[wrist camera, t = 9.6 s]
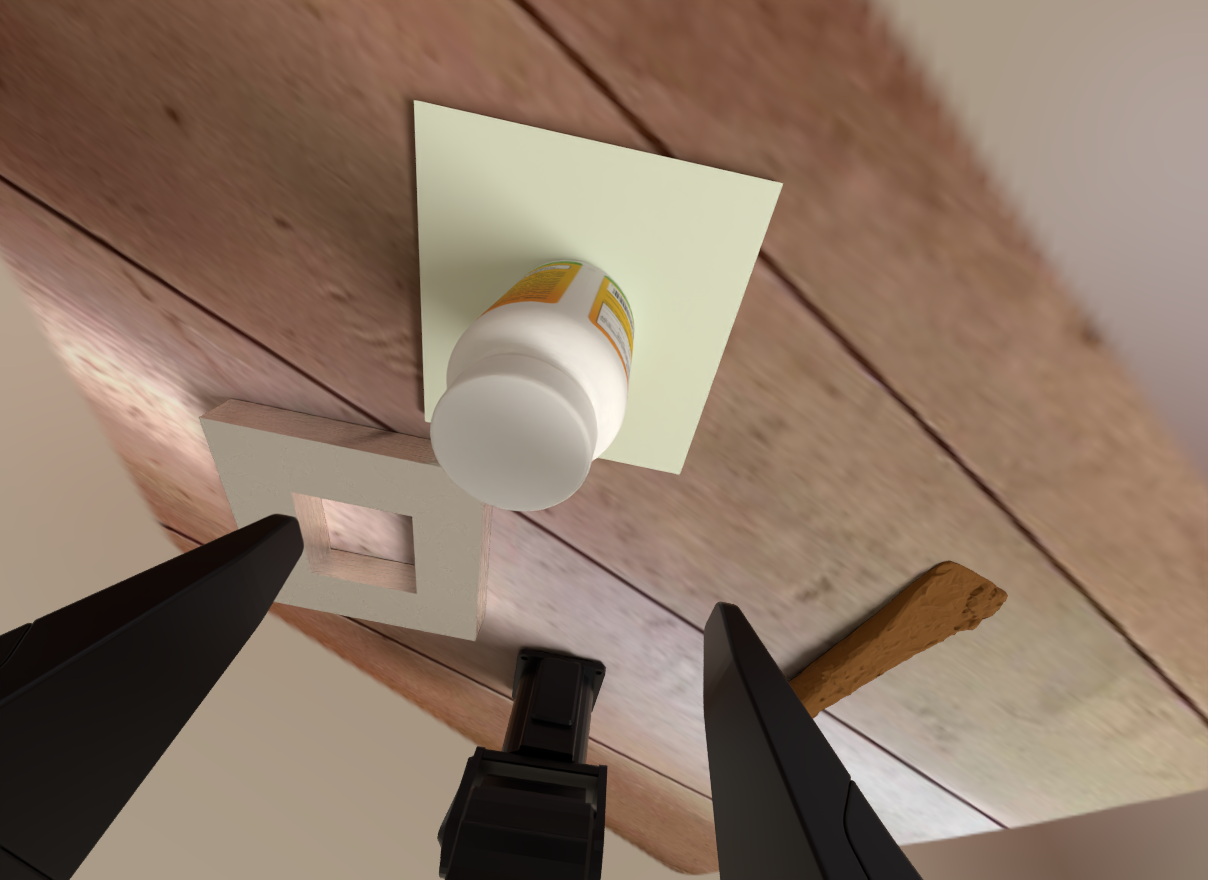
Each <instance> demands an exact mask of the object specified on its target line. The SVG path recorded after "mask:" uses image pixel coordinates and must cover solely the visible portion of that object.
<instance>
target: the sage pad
mask: <svg viewBox="0 0 1208 880" xmlns="http://www.w3.org/2000/svg"><path fill="white" fill-rule="evenodd" d="M414 116H415V145H416V174H417V203H418V232H419V260H420V289H421V318H422V347H423V376H424V405H425V422H430V423H431V419H432V414H433V411H434V409H435V407H436V405H437V403H438V401H439V400H440V398H441V397H442V395H443V394H444V393H445V392H446V390H447V383H446V375H447V367H448V363H449V359H450V356H451V353H452V351H453V349H454V347H455V345H456V343H457V342H458V340H459V339H460V337H461V336H462V334H463V333H464V332H465V331H466V330H467V329H468V327H469V326H470V325H471V324H472V323H473V322H474V321H475V320H476V319H477V318H478V317H480V316H481V315H482V314H483V313H484V312H485V311H486V310H487V309H489V308H490V307H491V306H492V305H493V304H494V303H495V302H496V301H497V300H499V299H500V298H501V297H502V296H503V295H504V294H505V293H506V292H507V291H509V290H510V289H511V288H512V287H513V286H514V285H515V284H516V283H517V282H518V281H519V280H520V279H521V278H522V277H524V276H525V275H526V274H528V273H529V272H530V271H532V270H533V269H535V268H537V267H539V266H540V265H543V264H546V263H549V262H553V261H559V260H574V261H581V262H585V263H588V264H591V265H593V266H595V267H597V268H599V269H601V270H602V271H604V272H606V273H607V274H608V275H609V276H611V277H612V278H613V279H614V280H615V281H616V282H617V284H618V285H619V286H620V287H621V289H622V290H623V292H624V293H625V295H626V297H627V298H628V301H629V303H630V306H631V309H632V312H633V318H634V345H633V353H632V363H631V371H630V379H629V389H628V399H627V406H626V410H625V415H624V419H623V422H622V425H621V427H620V430H619V432H618V433H617V435H616V437H615V439H614V440H613V442H612V443H611V444H610V446H609V447H608V448H607V449H606V450H605V451H604V452H603V453H602V454H601V455H600V456H599V457H598V458H603V459H607V460H612V461H617V462H622V463H627V464H631V465H636V466H641V467H646V468H651V469H655V470H660V471H665V472H670V473H675V474H679V475H680V472H681V470H682V467H683V464H684V461H685V458H686V455H687V453H688V450H689V447H690V444H691V441H692V439H693V436H694V433H695V430H696V427H697V424H698V422H699V419H700V416H701V413H702V410H703V408H704V405H705V402H706V399H707V396H708V394H709V391H710V388H711V385H712V382H713V379H714V377H715V374H716V371H717V368H718V365H719V363H720V360H721V357H722V354H723V351H724V348H725V346H726V343H727V340H728V337H729V334H730V332H731V329H732V326H733V323H734V320H735V317H736V315H737V312H738V309H739V306H740V303H741V301H742V298H743V295H744V292H745V289H746V287H747V284H748V281H749V278H750V275H751V272H752V270H753V267H754V264H755V261H756V258H757V256H758V253H759V250H760V247H761V244H762V241H763V239H764V236H765V233H766V230H767V227H768V225H769V222H770V219H771V216H772V213H773V211H774V208H775V205H776V202H777V199H778V196H779V194H780V191H781V188H782V185H783V183H779V182H774V181H770V180H765V179H761V178H757V177H752V176H748V175H743V174H739V173H735V172H730V171H726V170H721V169H717V168H712V167H708V166H704V165H699V164H695V163H690V162H686V161H682V160H677V159H673V158H668V157H664V156H660V155H655V154H651V153H646V152H642V151H637V150H633V149H629V148H624V147H620V146H615V145H611V144H607V143H602V142H598V141H593V140H589V139H584V138H580V137H576V136H571V135H567V134H562V133H558V132H554V131H549V130H545V129H540V128H536V127H532V126H527V125H523V124H518V123H514V122H509V121H505V120H501V119H496V118H492V117H487V116H483V115H479V114H474V113H470V112H465V111H461V110H456V109H452V108H448V107H443V106H439V105H434V104H430V103H426V102H421V101H417V100H414Z"/></svg>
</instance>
